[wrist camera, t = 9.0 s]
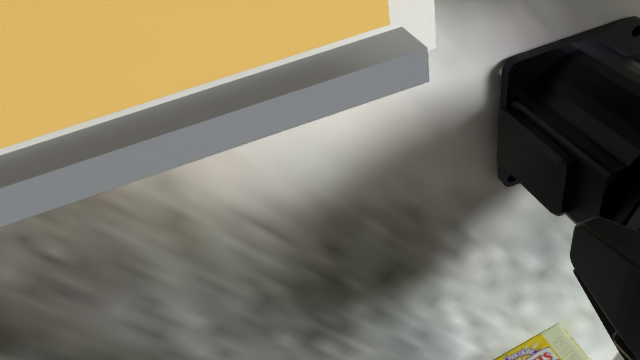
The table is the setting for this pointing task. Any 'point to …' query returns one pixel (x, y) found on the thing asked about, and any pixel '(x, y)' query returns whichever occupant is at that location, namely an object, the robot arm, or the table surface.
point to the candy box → (548, 347)
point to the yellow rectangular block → (148, 50)
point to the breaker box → (216, 115)
